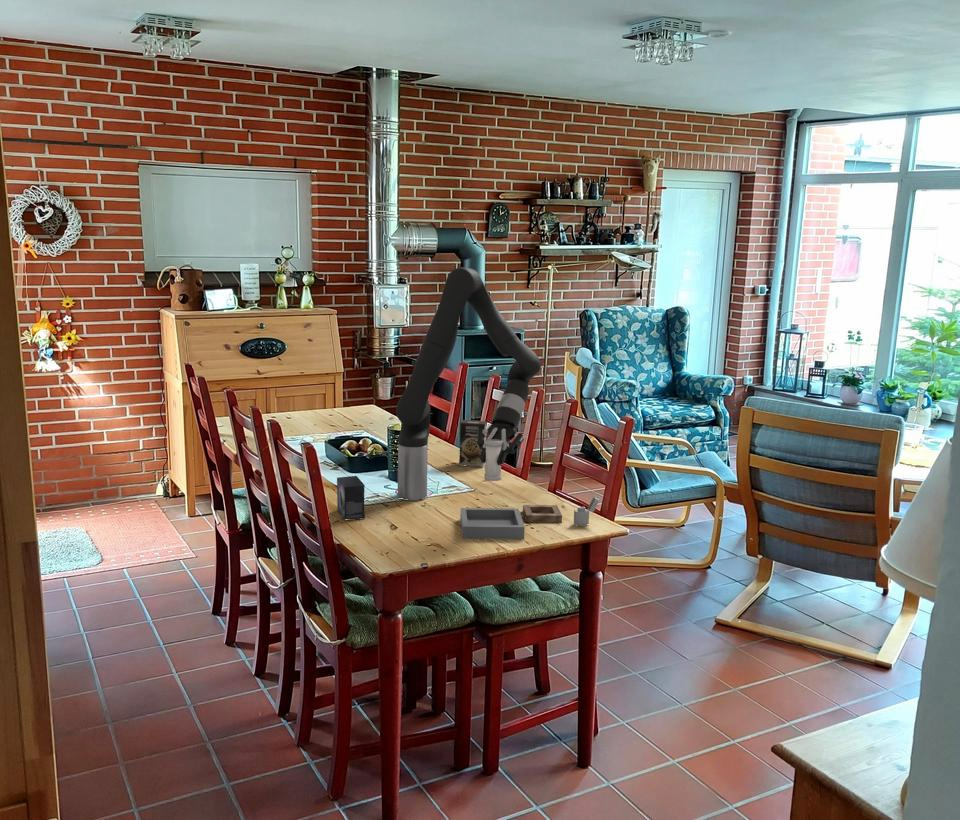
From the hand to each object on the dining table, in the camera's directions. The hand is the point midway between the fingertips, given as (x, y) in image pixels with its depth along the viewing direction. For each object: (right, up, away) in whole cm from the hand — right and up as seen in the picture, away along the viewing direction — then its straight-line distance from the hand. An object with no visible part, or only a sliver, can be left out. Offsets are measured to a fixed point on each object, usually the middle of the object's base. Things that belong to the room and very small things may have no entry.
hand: (490, 462), depth 247 cm
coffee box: (-6, -6, +77) cm, 77 cm away
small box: (-41, -17, +15) cm, 47 cm away
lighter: (+28, -19, +12) cm, 36 cm away
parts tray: (0, -19, +5) cm, 20 cm away
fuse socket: (+16, -17, +18) cm, 29 cm away
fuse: (+1, -5, +3) cm, 5 cm away
